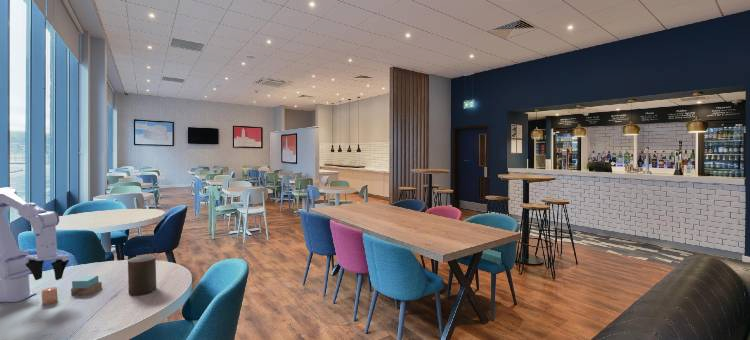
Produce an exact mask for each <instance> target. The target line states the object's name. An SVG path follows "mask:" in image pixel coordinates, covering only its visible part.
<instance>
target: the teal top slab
mask: <svg viewBox="0 0 750 340" xmlns="http://www.w3.org/2000/svg"><path fill="white" fill-rule="evenodd" d="M99 282H100V281H99V275H82V276H80V277H78V278H76V279H73V280H72V281H71V288H89V287H91V286H93V285H95V284H97V283H99Z"/></svg>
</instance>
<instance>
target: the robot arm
mask: <svg viewBox="0 0 750 340" xmlns="http://www.w3.org/2000/svg"><path fill="white" fill-rule="evenodd" d="M10 208H12V209H15V210H17V212H18V213H17V214H18V215H19V216H20V217H22V218H24V219H25V220H26V221H28V222H29V223H30V227H31V228H32V232H33V234H35V248H36V254H30V253H29V251H26V250H23V249H20V248H19V246H18V244H17V242H16V239H15V237H14V235H13V232H12V230H11V227H10V225H9V223H8V220H7V217H6V216H5V212H6V211H7V210H9V209H10ZM59 223H60V216H59V213H57V212H56V211H54V210H51V211H49V210H45V209H44V208H42V207H41V206H39V205H38V204H37V203H35V202H27V201H25V200H24V199H22V197H20V196H18V192H17V190H16V189H14V188H13V187H11V186H6V187H0V303H9V302H11V303H12V302H13V303H16V302H21V301H23V300H25V299H27V298H29V297H32V296H34V295H36V294H37V292H36V291H34V292H33V291H31V289H30V288H31V287H30V274H32V276H33V278H34V280H35V281H39V280H40V279H43V265H44V262H50V261H52V262H51V264H50V265H51V266H52V269H53V272H54V280H56V281H59V280H61V279H63V276H64V275H63V274H64V272H65V269H66V267H67V265H68V263H69V262H70V254H63V253H58V245H57V230H56V227H57V226H58V225H59ZM53 261H54V262H53Z"/></svg>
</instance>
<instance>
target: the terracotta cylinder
mask: <svg viewBox="0 0 750 340" xmlns="http://www.w3.org/2000/svg"><path fill="white" fill-rule="evenodd" d="M58 296H59V295H58V287H56V286H53V287H47V288H46V287H45V288H44V289H42V290H41V301H42V302H41V304H42V305H45V306H47V305H53V304H54V303H57V302H58V301H59V299H58V298H59V297H58Z"/></svg>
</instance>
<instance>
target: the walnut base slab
mask: <svg viewBox="0 0 750 340" xmlns="http://www.w3.org/2000/svg"><path fill="white" fill-rule="evenodd" d="M102 288H103V285H102V281H99V283H97V284H95V285H93V286H91V287H89V288H72V287H71V288H70V295H71V296H89V295H91V294H94V293H95V292H97V291H99V290H100V289H102Z"/></svg>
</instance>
